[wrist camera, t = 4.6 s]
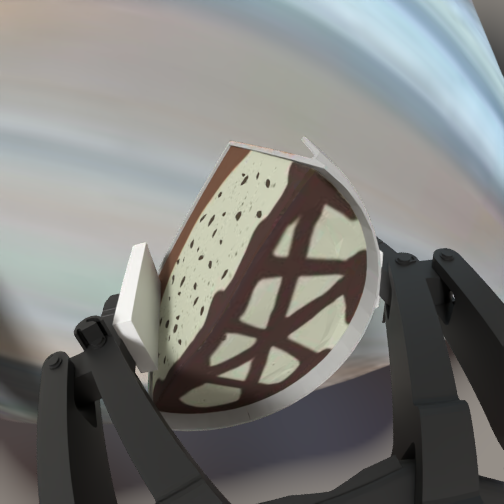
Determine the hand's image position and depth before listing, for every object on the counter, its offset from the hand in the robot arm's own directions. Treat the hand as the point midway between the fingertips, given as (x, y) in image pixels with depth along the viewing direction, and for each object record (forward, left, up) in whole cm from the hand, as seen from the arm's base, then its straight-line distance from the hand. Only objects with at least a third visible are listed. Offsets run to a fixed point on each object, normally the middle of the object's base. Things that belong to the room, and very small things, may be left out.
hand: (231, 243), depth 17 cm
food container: (0, 0, -2) cm, 2 cm away
